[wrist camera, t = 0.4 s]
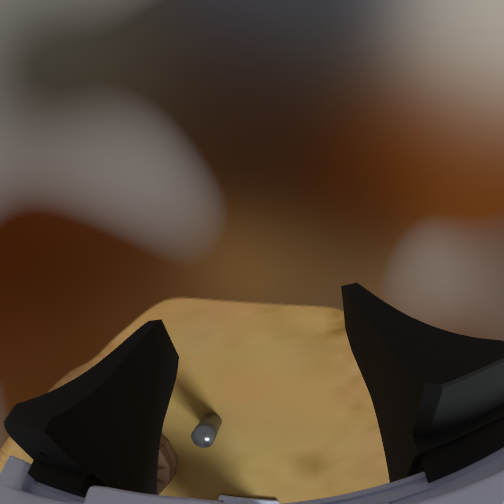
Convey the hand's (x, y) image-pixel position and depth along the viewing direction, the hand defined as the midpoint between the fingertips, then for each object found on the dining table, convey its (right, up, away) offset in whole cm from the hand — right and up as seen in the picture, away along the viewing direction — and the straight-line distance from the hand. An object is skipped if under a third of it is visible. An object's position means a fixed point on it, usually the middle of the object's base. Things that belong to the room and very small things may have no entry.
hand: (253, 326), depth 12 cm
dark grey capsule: (-5, -18, +22) cm, 29 cm away
